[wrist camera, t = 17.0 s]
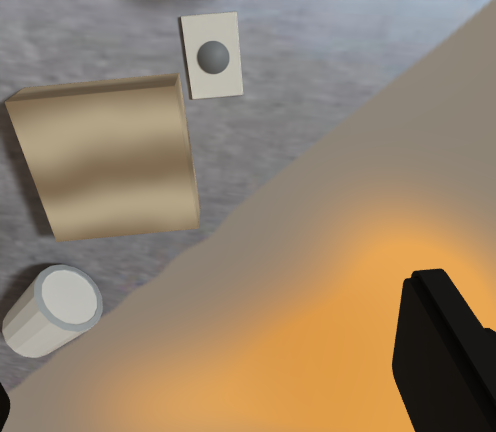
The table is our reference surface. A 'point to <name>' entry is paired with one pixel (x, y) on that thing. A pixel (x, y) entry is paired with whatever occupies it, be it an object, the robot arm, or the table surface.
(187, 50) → the push button plate
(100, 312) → the light grey cup
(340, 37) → the table surface
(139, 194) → the maple block
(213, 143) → the table surface
